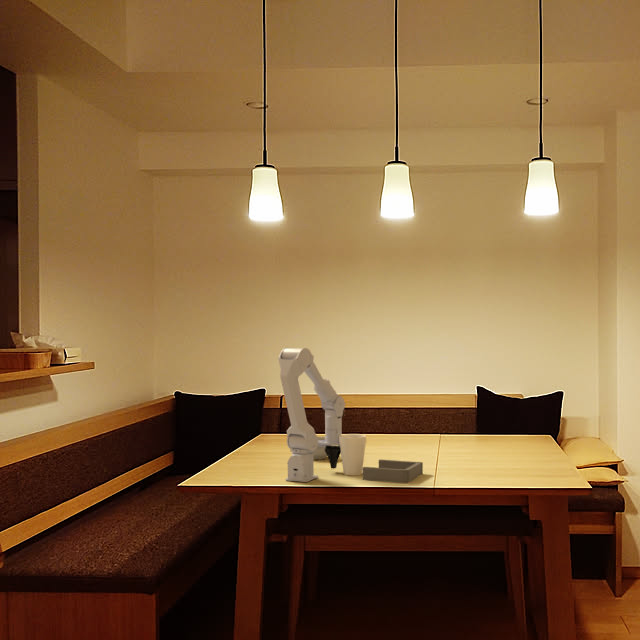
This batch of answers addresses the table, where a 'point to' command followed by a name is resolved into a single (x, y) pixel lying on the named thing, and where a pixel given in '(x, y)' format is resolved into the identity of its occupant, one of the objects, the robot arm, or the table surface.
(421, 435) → the table surface
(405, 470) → the bay
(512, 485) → the table surface
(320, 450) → the teacup
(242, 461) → the table surface
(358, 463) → the foam cup
